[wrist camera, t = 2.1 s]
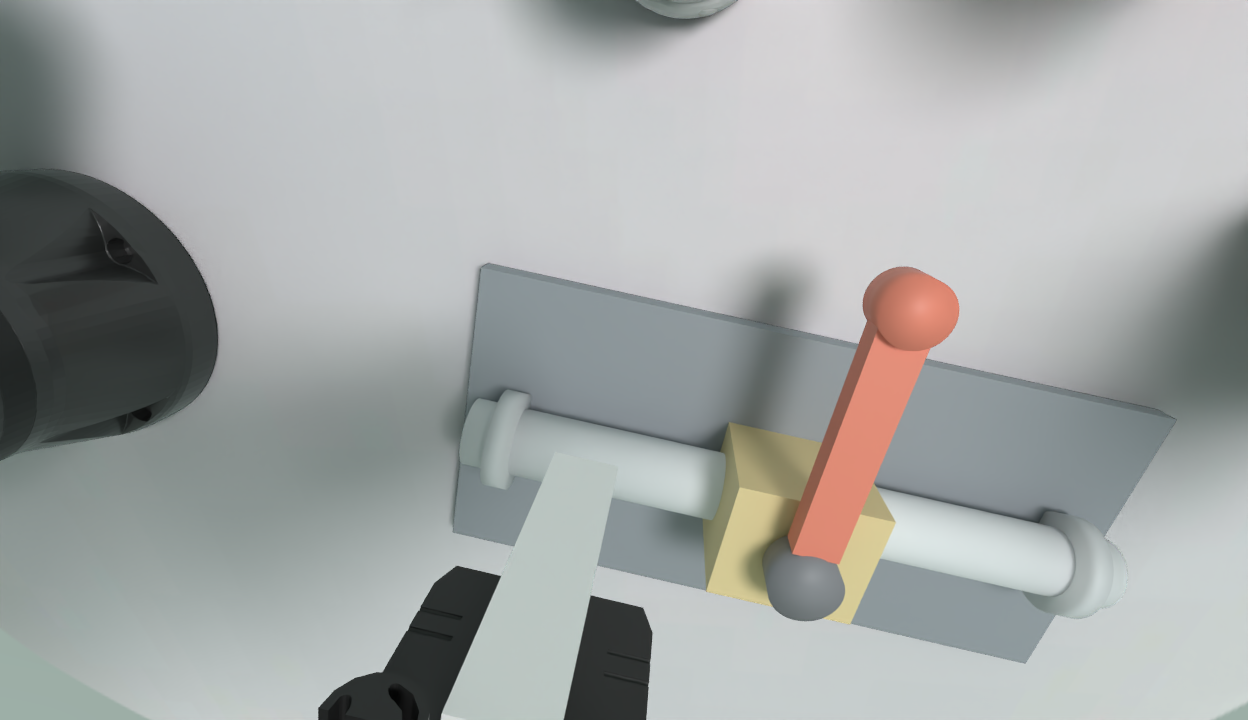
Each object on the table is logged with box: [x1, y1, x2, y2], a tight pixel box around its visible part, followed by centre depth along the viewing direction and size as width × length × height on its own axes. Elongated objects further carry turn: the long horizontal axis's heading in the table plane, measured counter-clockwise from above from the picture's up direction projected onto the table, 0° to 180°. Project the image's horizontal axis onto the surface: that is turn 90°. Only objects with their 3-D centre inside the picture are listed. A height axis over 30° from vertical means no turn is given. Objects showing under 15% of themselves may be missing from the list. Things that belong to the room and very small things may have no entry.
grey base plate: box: [453, 263, 1176, 664], centre depth 30 cm, size 36×17×8 cm, turn 79°
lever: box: [762, 267, 959, 621], centre depth 23 cm, size 15×3×2 cm, turn 169°
